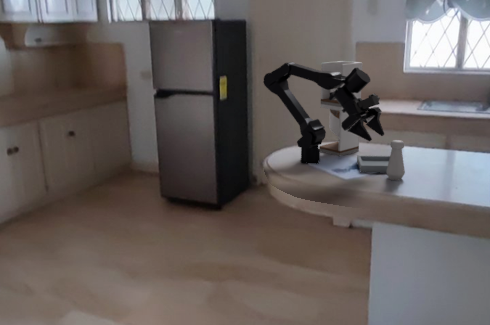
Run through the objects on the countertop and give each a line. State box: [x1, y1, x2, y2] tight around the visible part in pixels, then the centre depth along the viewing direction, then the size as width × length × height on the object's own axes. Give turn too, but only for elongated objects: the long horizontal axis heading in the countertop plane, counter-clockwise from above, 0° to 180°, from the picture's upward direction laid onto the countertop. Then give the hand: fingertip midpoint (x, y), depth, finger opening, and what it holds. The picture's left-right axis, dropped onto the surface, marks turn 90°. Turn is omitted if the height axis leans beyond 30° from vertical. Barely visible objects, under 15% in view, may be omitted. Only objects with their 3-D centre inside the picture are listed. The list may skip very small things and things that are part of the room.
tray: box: [356, 155, 390, 174], centre depth 181 cm, size 13×13×2 cm
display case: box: [319, 60, 364, 157], centre depth 199 cm, size 11×11×35 cm
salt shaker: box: [386, 139, 406, 181], centre depth 167 cm, size 6×6×13 cm
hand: (377, 137), depth 169 cm, fingers open, 9 cm apart
